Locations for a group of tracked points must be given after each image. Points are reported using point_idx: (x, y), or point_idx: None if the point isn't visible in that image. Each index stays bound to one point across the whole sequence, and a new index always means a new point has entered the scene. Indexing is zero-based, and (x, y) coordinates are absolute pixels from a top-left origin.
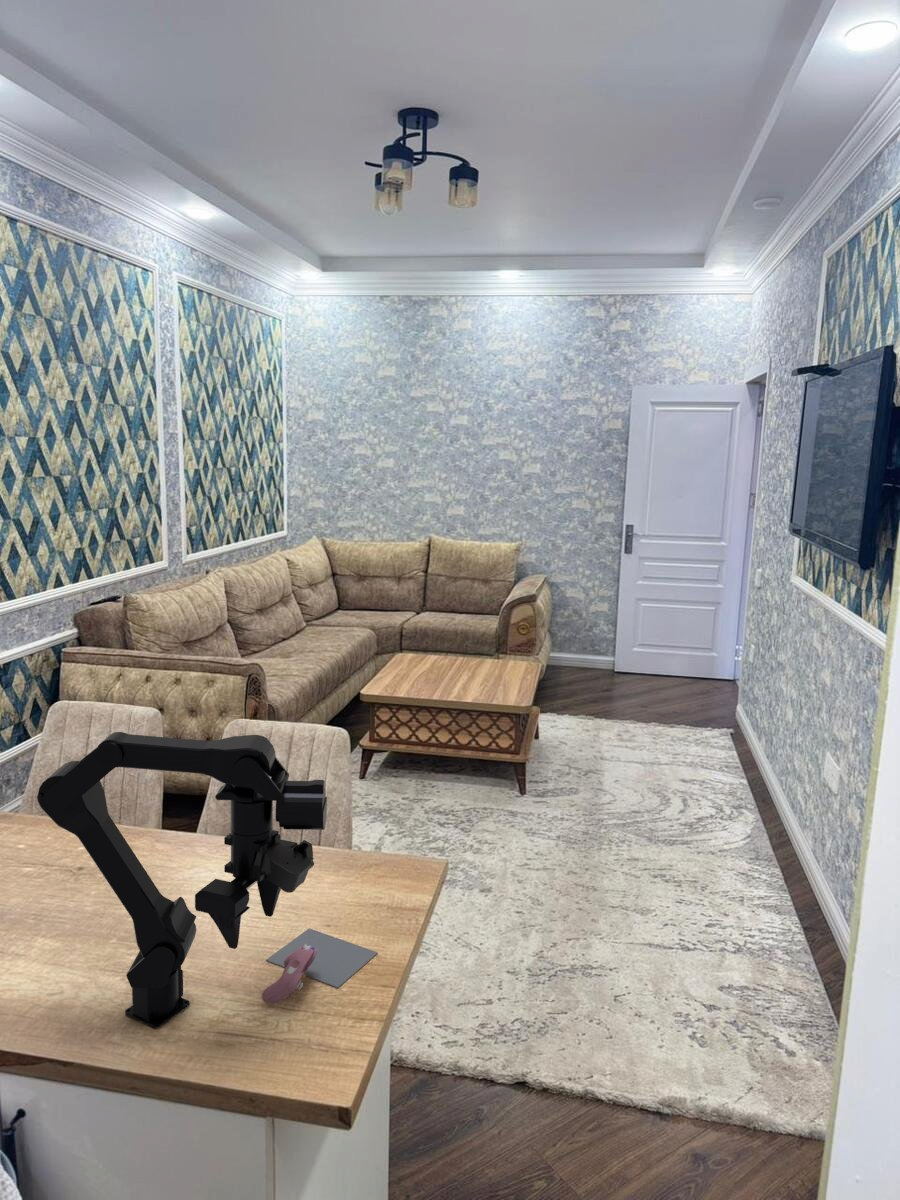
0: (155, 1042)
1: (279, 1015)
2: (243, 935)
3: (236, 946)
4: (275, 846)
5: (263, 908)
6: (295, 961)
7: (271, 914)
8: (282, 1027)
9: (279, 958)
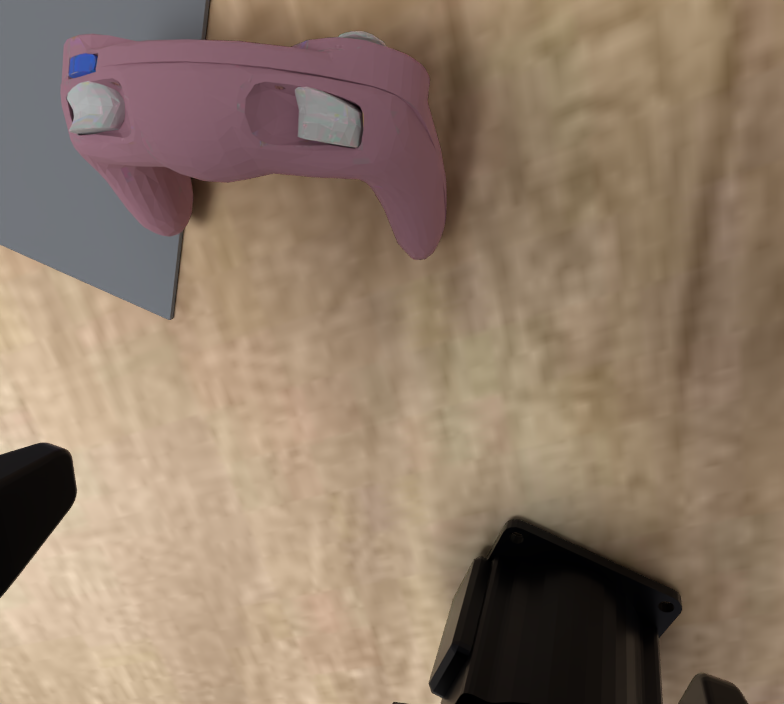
0: (765, 580)
1: (515, 122)
2: (82, 436)
3: (737, 701)
4: None
5: (26, 560)
6: (252, 122)
7: (48, 459)
8: (616, 64)
9: (140, 269)
